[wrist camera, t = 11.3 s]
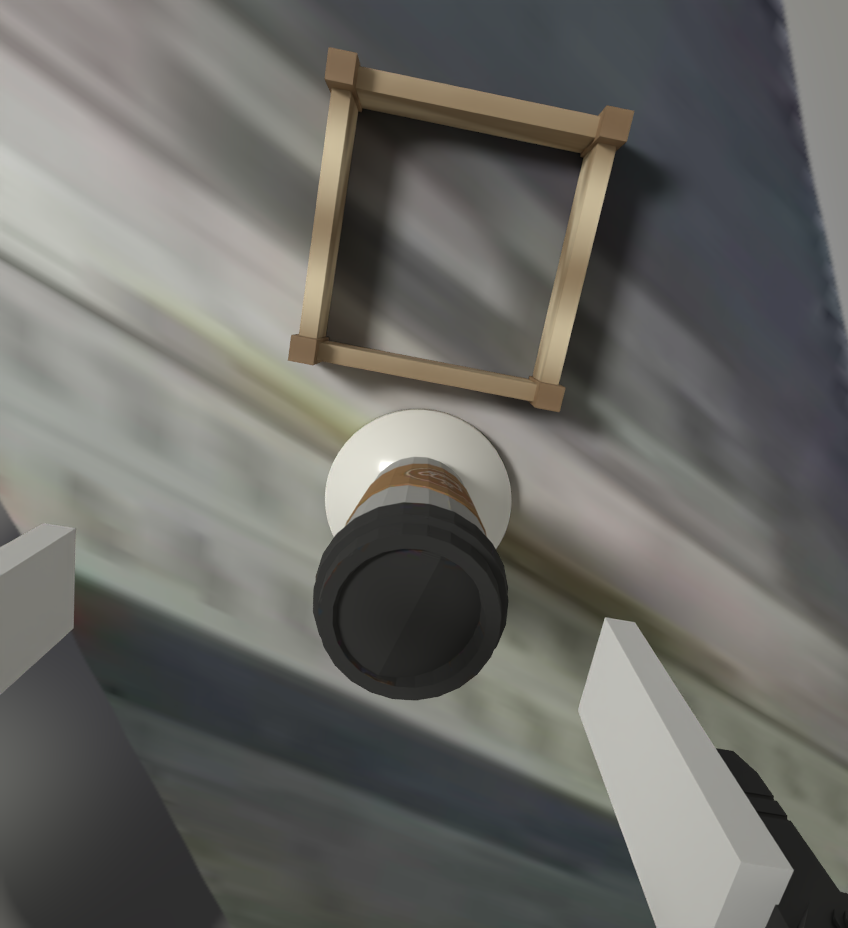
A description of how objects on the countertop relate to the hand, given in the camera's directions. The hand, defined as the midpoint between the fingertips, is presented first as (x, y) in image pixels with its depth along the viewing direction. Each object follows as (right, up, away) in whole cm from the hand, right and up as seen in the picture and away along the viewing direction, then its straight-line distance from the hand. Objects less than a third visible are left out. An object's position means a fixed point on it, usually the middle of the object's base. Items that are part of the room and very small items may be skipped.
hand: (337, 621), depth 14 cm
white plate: (+2, +2, +24) cm, 24 cm away
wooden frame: (+4, +17, +20) cm, 26 cm away
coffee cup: (+2, +1, +23) cm, 23 cm away
